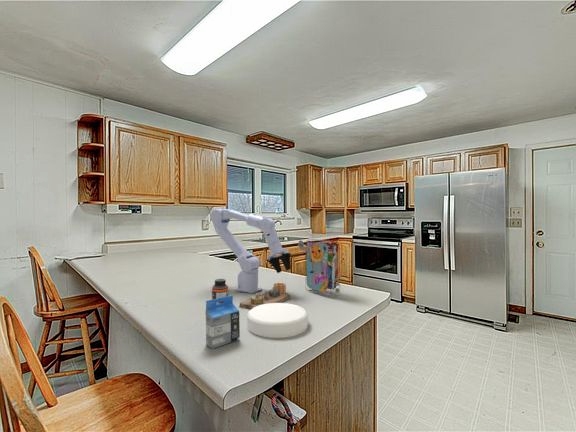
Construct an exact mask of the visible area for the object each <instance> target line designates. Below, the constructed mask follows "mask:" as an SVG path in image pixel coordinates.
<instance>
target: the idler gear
mask: <svg viewBox="0 0 576 432" xmlns="http://www.w3.org/2000/svg"><path fill="white" fill-rule="evenodd" d="M273 287H276V290H279V291H280V293H281V294H286V292H287V291H286V290H287V288H286V287H287V284H286V283H284V282H277V283H276V282H274V284H273Z"/></svg>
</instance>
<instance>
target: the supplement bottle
mask: <svg viewBox="0 0 576 432" xmlns="http://www.w3.org/2000/svg"><path fill="white" fill-rule="evenodd" d="M211 288H212V289H211V300H213V299H218V298H222V297H227V296H229V286H228V284H227V282H226V279H225V278H216V279H214V285H212V287H211ZM222 303H224V301H222V302H221V301H219V302H218V303H216V304H215V305H218V304H222Z"/></svg>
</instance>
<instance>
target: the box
mask: <svg viewBox="0 0 576 432" xmlns="http://www.w3.org/2000/svg"><path fill="white" fill-rule="evenodd" d="M303 241H304V240H300V239H299V241H298V244H297V245H298V248H299V250H301V251H304V250H305V262H304V263H305V275H306V287H305V289H306V291H308V292H310V293H313V294H316V295H317V294H319V292H318V291H320V292H324V293H326V292H329V293H332V292H334V293H335V294H333V293H332V294H331V296H333V297H334V296H335V297H338V295H337V294H339V293H340V292H341V284H340V282H338V281H340V277H338V275H341V267H340V265H341V264H340V263H341V261H339V259H341V258H340V256H341V255H339V254H338V253H339V249H341V248H340V245H341V244H339V243H338V242H337V241H335V243H334V241H333V240H326V239H325V240H323V239H317V238H316V239H312V238H311V239H306V240H305V243H304V242H303ZM328 252H329V253H328ZM328 262H329V263H330V264H328ZM337 286H338V288H337ZM307 287H308V288H309V289H308V288H307ZM314 290H315V291H314ZM312 291H313V292H312ZM315 292H316V293H315ZM319 296H321V297H325V295H323V294H319ZM331 296H328V298H329V299H330V298H331Z"/></svg>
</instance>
